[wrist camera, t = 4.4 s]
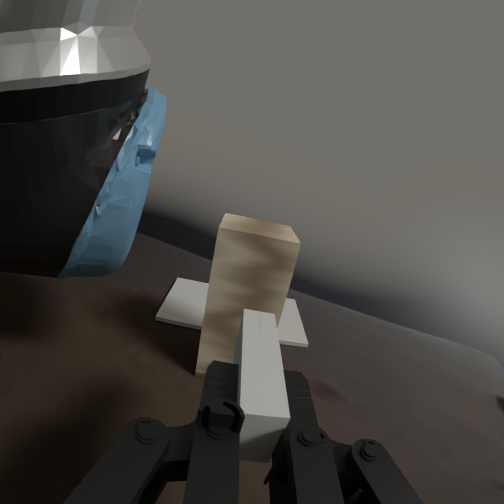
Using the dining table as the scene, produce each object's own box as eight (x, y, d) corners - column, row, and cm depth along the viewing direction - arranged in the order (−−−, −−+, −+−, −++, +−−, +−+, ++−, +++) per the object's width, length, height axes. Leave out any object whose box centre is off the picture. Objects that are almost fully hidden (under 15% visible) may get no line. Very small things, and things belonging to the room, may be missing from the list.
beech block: (194, 376, 25) (218, 227, 21) (203, 340, 31) (225, 212, 27) (259, 387, 25) (300, 243, 21) (258, 350, 31) (290, 226, 27)
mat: (155, 319, 32) (155, 316, 32) (177, 280, 44) (177, 277, 44) (306, 347, 33) (308, 343, 33) (293, 302, 45) (294, 299, 45)
